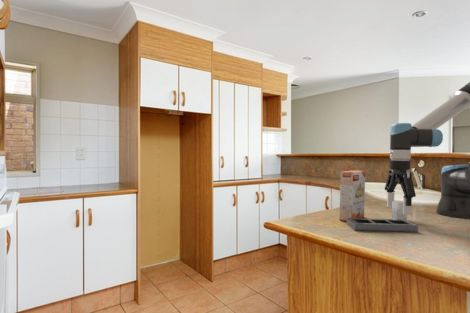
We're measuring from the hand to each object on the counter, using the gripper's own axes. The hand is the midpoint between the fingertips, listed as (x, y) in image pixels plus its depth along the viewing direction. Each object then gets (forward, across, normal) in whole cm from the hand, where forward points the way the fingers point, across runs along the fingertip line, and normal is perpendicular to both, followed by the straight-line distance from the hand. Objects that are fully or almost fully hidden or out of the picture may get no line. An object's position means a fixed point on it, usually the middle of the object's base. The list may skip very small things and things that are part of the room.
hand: (398, 210), depth 114 cm
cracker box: (+5, -2, -18) cm, 19 cm away
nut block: (+4, 0, 0) cm, 5 cm away
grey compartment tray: (+5, +12, -12) cm, 18 cm away
